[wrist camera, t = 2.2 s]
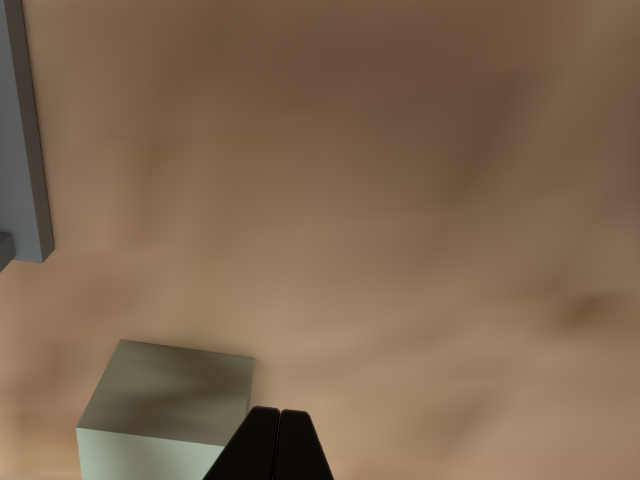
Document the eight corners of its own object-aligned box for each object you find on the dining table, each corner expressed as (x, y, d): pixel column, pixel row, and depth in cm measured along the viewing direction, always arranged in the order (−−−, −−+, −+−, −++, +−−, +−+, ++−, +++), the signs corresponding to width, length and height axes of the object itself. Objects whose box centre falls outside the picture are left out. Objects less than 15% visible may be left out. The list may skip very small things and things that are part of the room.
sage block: (254, 355, 25) (236, 448, 21) (245, 442, 29) (227, 538, 24) (121, 338, 25) (75, 427, 21) (126, 427, 28) (87, 521, 24)
